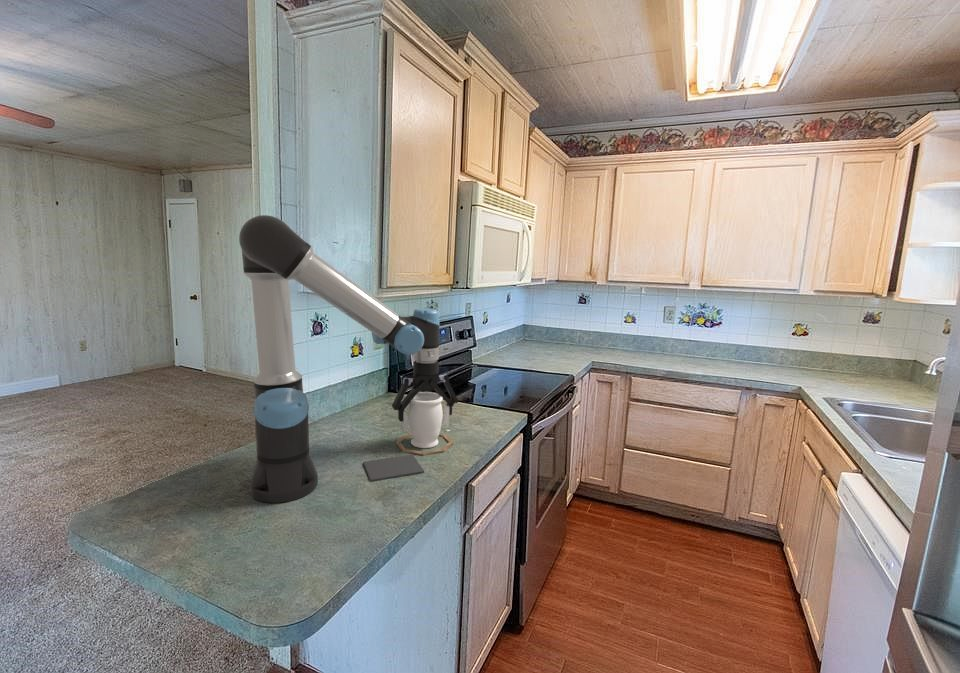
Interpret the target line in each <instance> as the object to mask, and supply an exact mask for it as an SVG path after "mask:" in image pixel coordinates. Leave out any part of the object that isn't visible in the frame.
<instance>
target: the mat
mask: <svg viewBox="0 0 960 673" xmlns="http://www.w3.org/2000/svg"><path fill="white" fill-rule="evenodd" d="M362 464H363V466H364V468H365V471H366V473H367V475H368V478H369V480H370V482H377V481H382V480H383V481H384V480H389V479H395V478H400V477H402V478H403V477H407V476H413V475H418V474H419V475H420V474H425V469H424V468H423V467H422V466H421V464H420V463H419V462H418V460H417V459H416V457H415V456H414V454H412V453H411V454H406V455H405V454H404V455H400V456H393V457H387V458H380V459H373V460H365V461H363V463H362Z"/></svg>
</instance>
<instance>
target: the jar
mask: <svg viewBox="0 0 960 673" xmlns="http://www.w3.org/2000/svg"><path fill="white" fill-rule="evenodd" d="M443 401H444V399H443V397H442V396H440V395H439V394H438V393H437V392H432V391H425V392H422V391H419V393H418V394H416V395H415V397H414V398H413V399H412V400H411V402H410V403H409V404H408V408H407V409H408V410H407V422H408V428H409V433H410V434H411V436H410V437H411V440H410V443H411V445H412V446H413V447H415V448H419V449H430V448H434V447H437V446H438V444H439V443H440V442H439V439H438V438H439V437H440V436H439V433H441V430H442V429H441V428H442V424H443V418H444V411H443V405H442V402H443Z"/></svg>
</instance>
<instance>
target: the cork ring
mask: <svg viewBox="0 0 960 673" xmlns="http://www.w3.org/2000/svg"><path fill="white" fill-rule="evenodd" d="M409 437H412V436H411V434H410V432H408V433H406V434H404V435H403V436H400V437H399V438H398V439H396V441H395V443H396V446H397V447H398V448H399V450H400V451H401V452H403V453H408V454H411V455H412V454H413V455H418V456H430V455H434V454H441V453H445V452H447V450H449V449H450V448H451V447H452V446H453V445H454V441H453V439H451V438H450V437H449V435H447V434H446V433H441V432H440V433H439V436H438V437H442V438H443V439H444V440H445V441H446V442H447V444H446V445H445V446H443V447H442V448H441V449H435V450H427V451H418V450H413V449H410V448H409V449H408V448H405V446H404V444H403V443H402V442H403V441H404V440H406V439H408V438H409Z"/></svg>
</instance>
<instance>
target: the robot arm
mask: <svg viewBox="0 0 960 673" xmlns="http://www.w3.org/2000/svg"><path fill="white" fill-rule="evenodd" d="M238 241H239V245H240V248H241V256H242V269H243V274H244V275H245V276H246V277H247V278H248V279H249V280H250V281H251V291H252V303H253V314H254V325H255V326H254V327H255V335H256V336H255V337H256V348H257V350H256V351H257V359H258V372H259V373H258V374H257V375H256V376H255V378H253V390H254V399H255V400H254V406H253V415H254V423H255V424H254V425H255V444H256V445H255V447H256V463H255V466H254V469H253V473H252V476H251V479H250V483H249V490H250V496H251V497H252V498H253V499H254V500H256V501H257V502H261V503H262V502H263V503H270V504H276V503H277V504H279V503H280V504H281V503H286V502H291V501H294V500H298V499H301V498H304V497H305V496H307V495H309V494H310V493H312V492H313V491H314V490H315V489H316V488H317V486H318V483H319V480H318V479H319V478H318V477H319V476H318V471H317V469H316V466H315V464H314V461H313V460H312V457H311V453H310V432H309V431H310V430H309V428H310V427H309V426H310V425H309V411H310V405H309V401H308V397H307V395H306V393H304V388H303V387H304V386H303V375H302V374H301V373H300V372H299V371H298V370H296V364H295V350H294V346H295V345H294V334H293V322H292V320H293V319H292V308H291V307H292V305H291V292H290V291H291V290H290V280H294V281H295V282H297V283H298V284H301V285H302V286H303V287H305V288H306V289H308V290H310V291H311V292H312V293H313V294H315V295H317V296H318V297H319V298H321V299H322V300H324V301H325V302H326V303H328V304H330V305H331V306H333V307H334V308H336V309H337V310H338V311H340V312H341V313H343V314H344V315H345V316H348V317H349V318H350V319H352V320H354V321H355V322H357V323H358V324H359V325H361V326H362V327H364V328H365V329H367V330H368V331H369V332H371V337H372V340H373V343H375V344H377V345H378V344H380V345H381V344H382V345H386V344H388V345H390V346H391V347H393V348H394V349H396V350H397V351H398V352H400V353H401V354H404V355H410V356H411V355H413V360H414V361H413V368H412V369H413V370H412V371H413V375H412V377H406V376H403V377H402V382H401V386H400V388H399V389H398V391H397V395H396V396H395V398H394V401H393V402H392V405H391V407H392V409H393V410H395V411H397V412H398V413H397V415H398V416H397V419H398V421H399V422H401V423H400V424H401V431H402V432H403V433H407V411H406V408H407V407H409V404H410V402H411V400H412V399H413V398H414V397H415V395H416V394H418V393H419V392H432V391H433V390H434V391H436V393H437V394H439V395H440V396H442V397H443V401H444V402H445V403H443V404H444V405H443V425H444V426H445V427H447V428H449V427H450V416H452V414H453V407H454V404H458V403H459V399H458V397H457V395H456V393H455V391H454V389H453V388H452V385H451V383H450V377H449V375H448V374H446V373H442V374H440V375H439V371H440V369H439V368H440V367H439V366H440V365H439V364H440V362H439V361H438V360H439V358H440V354H439V353H440V351H439V349H440V312H439V311H438V310H437V309H434V308H428V307H427V308H422V307H421V308H415V309H414V310H413V314H412V315H409V316H400V315H399V314H398V313H397V312H395V311H394V310H393V309H392V308H390V307H389V306H387V305H386V304H385V303H383V302H382V301H380V300H379V299H377V298H376V297H375V296H374V295H372V294H371V293H369V292H368V291H367V290H366V289H364V288H362V287H361V286H360V285H358V284H357V283H356V282H354V281H352V279H350V278H349V277H347V276H346V275H344V274H343V273H342V272H340V271H339V270H338V269H336V268H335V267H334V266H332V265H331V264H329V263H328V262H327V261H325V260H324V259H323V258H321V257H320V256H318V255H317V254H316V253H315V252H314V249H313V246H312V245H310V244H309V243H308V242H307V241H306V240H304V239H303V238H302V237H301V236H300V235H298V234H297V232H295V231H294V230H293V229H292V228H291V227H290V226H289V225H288V224H286V222H284V221H283V220H281V219H280V218H279V217H275V216H273V215H268V214H266V215H265V214H264V215H262V214H261V215H257V216H254V217H251V218H249V219H248V220H247V221H246V222H245V223H244V224H243V225H242V227H241V228H240V230H239V235H238ZM440 381H441V382H442V383H443V384H444V386H445V389H446V391H447V393H448V395H449V396H450V398H449V397H448V396H447V395H446V394H445V393H444V392H443V390H442V389H441V388H440V387H439V386H438V384H439V382H440ZM411 383H412V384H413V386H412V387H411V389H410V391H409V392H408V393H407V395H405V394H406V392H407V390H408V388H409V386H411Z"/></svg>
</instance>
